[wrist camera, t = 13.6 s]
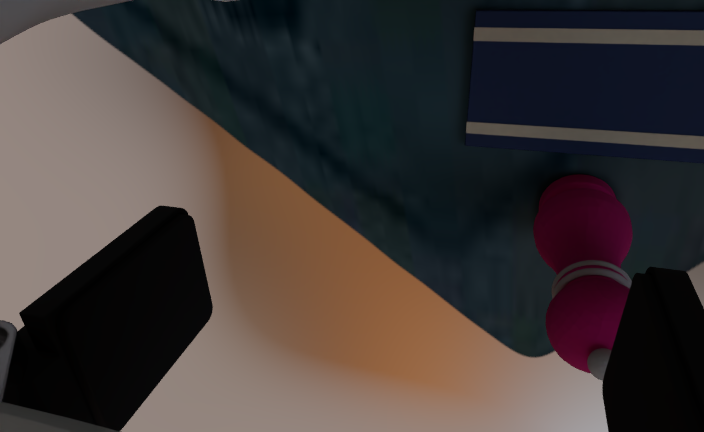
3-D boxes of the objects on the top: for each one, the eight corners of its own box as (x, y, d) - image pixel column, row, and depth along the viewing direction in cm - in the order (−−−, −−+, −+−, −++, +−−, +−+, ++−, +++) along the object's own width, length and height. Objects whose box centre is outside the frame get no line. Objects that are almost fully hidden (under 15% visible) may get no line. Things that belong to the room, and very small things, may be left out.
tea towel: (465, 143, 44) (464, 146, 44) (476, 9, 39) (475, 10, 38) (728, 162, 39) (731, 166, 39) (783, 10, 34) (787, 12, 33)
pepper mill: (596, 252, 46) (636, 439, 29) (519, 224, 47) (515, 390, 30) (640, 185, 42) (714, 358, 25) (554, 156, 43) (572, 305, 26)
